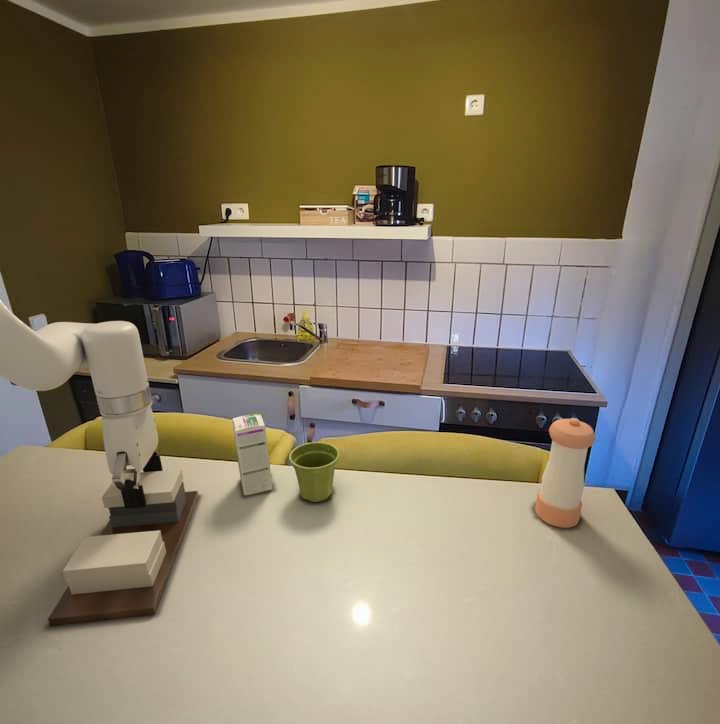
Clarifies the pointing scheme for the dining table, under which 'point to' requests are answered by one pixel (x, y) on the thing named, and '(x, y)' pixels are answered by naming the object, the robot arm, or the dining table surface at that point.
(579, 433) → the pepper shaker
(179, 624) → the dining table surface
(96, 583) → the white stack
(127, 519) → the grey stack
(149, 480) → the white book
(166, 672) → the dining table surface
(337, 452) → the plant pot
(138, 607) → the shelf board
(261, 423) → the syrup box
